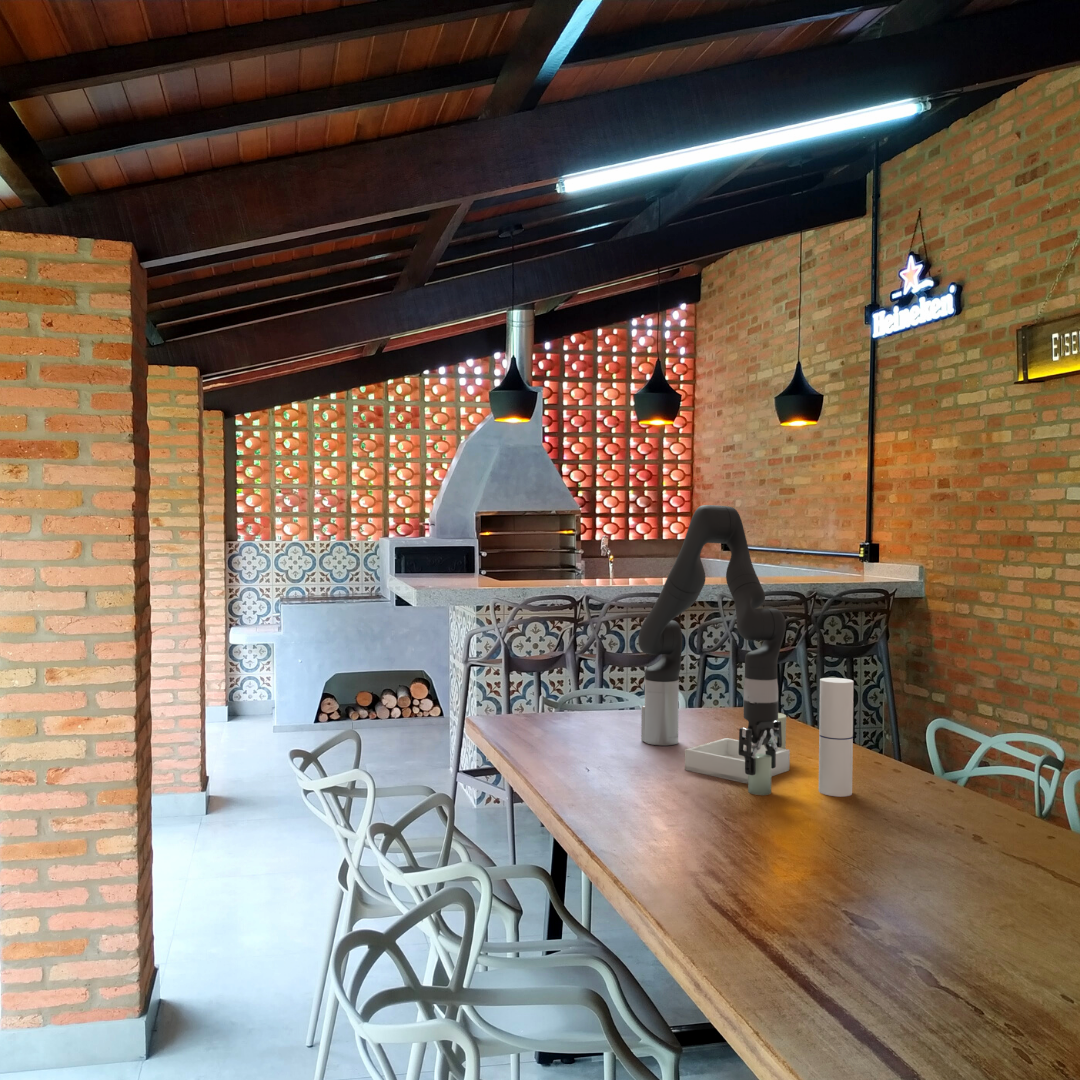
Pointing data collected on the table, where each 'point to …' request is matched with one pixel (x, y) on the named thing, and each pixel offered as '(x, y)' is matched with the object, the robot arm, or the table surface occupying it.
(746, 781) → the grey tub
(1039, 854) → the table surface
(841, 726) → the cylindrical container
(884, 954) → the table surface
